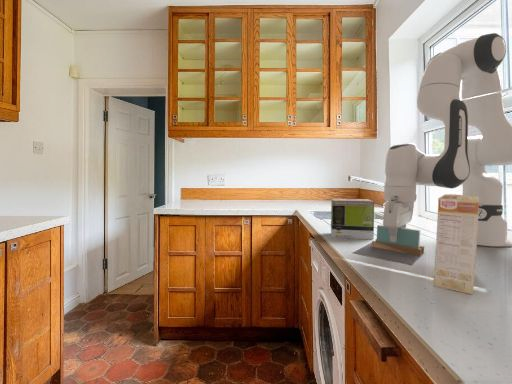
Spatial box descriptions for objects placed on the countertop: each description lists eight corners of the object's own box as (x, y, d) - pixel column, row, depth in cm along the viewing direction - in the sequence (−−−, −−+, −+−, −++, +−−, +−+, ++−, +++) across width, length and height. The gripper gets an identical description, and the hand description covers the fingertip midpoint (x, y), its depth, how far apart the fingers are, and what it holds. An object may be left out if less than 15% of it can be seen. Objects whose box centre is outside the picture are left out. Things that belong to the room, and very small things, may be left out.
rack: (376, 244, 93) (376, 238, 93) (423, 252, 84) (424, 246, 84) (371, 246, 90) (371, 241, 89) (420, 255, 80) (421, 249, 80)
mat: (370, 244, 95) (371, 242, 95) (424, 253, 85) (424, 251, 84) (351, 254, 82) (351, 253, 82) (411, 267, 72) (411, 265, 72)
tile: (378, 245, 91) (379, 224, 91) (419, 252, 84) (420, 230, 83) (376, 246, 90) (377, 225, 90) (417, 253, 82) (419, 230, 82)
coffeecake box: (439, 268, 71) (444, 193, 70) (474, 275, 67) (479, 195, 66) (431, 286, 60) (436, 197, 58) (473, 295, 55) (479, 199, 54)
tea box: (368, 235, 110) (370, 198, 109) (373, 241, 100) (375, 201, 99) (330, 233, 113) (331, 197, 112) (331, 238, 104) (332, 199, 103)
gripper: (402, 197, 76) (399, 247, 77) (417, 194, 91) (415, 235, 92) (378, 196, 80) (376, 243, 81) (397, 193, 95) (395, 232, 96)
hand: (397, 239), depth 86 cm, fingers open, 7 cm apart
